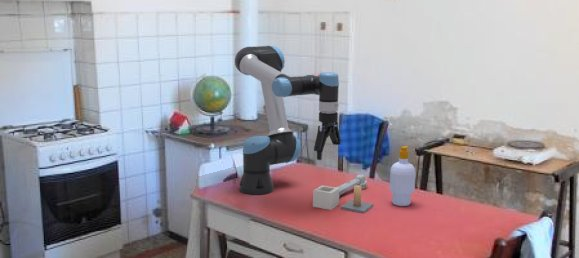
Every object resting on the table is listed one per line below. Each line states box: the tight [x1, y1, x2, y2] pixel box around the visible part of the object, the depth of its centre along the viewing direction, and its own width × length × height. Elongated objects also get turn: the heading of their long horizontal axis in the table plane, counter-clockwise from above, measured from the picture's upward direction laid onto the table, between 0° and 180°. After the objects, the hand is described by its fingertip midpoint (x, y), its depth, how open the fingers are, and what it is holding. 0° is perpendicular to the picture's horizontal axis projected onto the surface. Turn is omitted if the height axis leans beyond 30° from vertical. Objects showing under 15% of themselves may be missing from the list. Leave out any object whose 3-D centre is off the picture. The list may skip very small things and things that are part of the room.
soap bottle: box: [389, 145, 416, 207], centre depth 245 cm, size 10×10×24 cm
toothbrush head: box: [335, 174, 368, 197], centre depth 261 cm, size 5×7×25 cm
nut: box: [312, 185, 340, 211], centre depth 243 cm, size 8×8×7 cm
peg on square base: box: [340, 185, 374, 214], centre depth 241 cm, size 10×10×9 cm
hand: (327, 163), depth 240 cm, fingers open, 13 cm apart
